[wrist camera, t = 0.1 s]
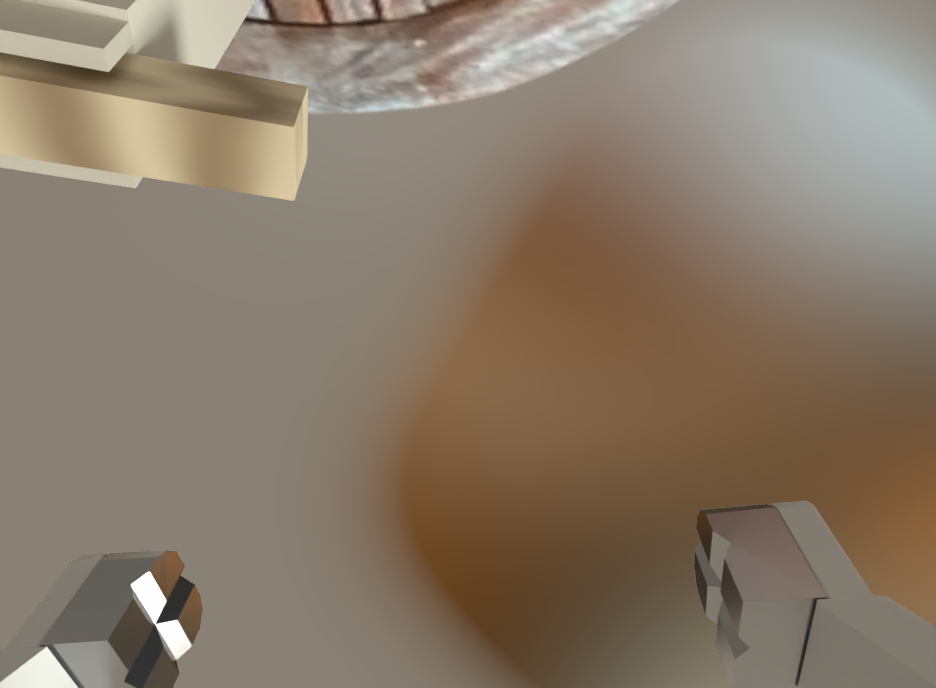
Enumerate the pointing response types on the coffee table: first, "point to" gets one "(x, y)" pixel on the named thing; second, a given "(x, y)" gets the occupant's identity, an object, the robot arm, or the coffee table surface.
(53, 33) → the bracket post
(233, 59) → the coffee table surface
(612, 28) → the coffee table surface
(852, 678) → the robot arm
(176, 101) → the rail
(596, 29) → the coffee table surface
